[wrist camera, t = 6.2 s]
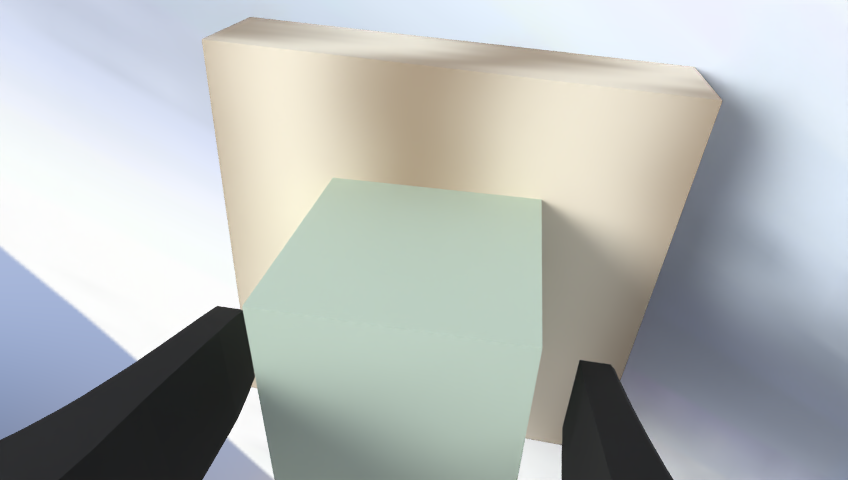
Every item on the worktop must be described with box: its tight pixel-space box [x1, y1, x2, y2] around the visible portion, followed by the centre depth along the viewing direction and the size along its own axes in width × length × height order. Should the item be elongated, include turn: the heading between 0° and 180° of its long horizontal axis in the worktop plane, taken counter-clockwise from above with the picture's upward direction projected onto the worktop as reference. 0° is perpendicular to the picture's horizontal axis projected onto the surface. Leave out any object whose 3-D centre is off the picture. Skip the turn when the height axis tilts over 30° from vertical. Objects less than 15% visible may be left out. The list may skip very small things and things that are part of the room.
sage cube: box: [242, 178, 542, 480], centre depth 13 cm, size 5×5×5 cm
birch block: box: [202, 17, 723, 445], centre depth 16 cm, size 11×11×3 cm
